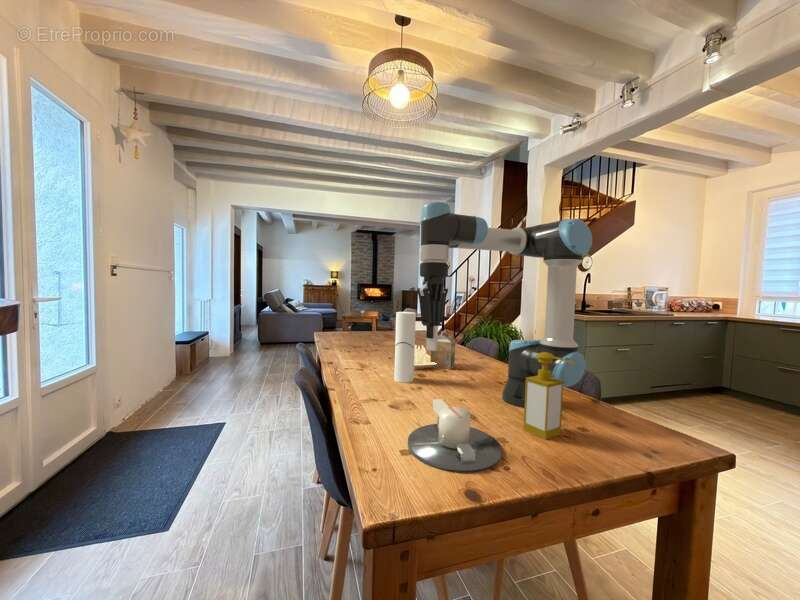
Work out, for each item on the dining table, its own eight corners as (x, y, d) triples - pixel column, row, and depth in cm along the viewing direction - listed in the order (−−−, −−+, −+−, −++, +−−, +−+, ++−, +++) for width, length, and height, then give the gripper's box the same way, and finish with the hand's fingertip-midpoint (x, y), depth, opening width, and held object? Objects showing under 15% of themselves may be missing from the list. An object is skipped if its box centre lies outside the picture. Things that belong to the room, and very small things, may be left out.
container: (411, 383, 140) (414, 313, 139) (392, 381, 142) (394, 312, 141) (414, 378, 149) (417, 312, 147) (396, 376, 150) (398, 311, 149)
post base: (478, 425, 99) (478, 413, 99) (520, 468, 76) (521, 453, 76) (400, 428, 95) (400, 415, 95) (419, 475, 72) (419, 459, 72)
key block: (483, 456, 78) (485, 424, 78) (452, 459, 76) (454, 426, 76) (448, 420, 99) (449, 394, 99) (423, 421, 97) (424, 395, 97)
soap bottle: (564, 448, 86) (568, 360, 85) (523, 429, 97) (527, 351, 96) (579, 442, 90) (583, 357, 89) (538, 425, 101) (542, 349, 100)
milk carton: (450, 370, 165) (451, 332, 165) (430, 367, 169) (431, 331, 168) (454, 365, 175) (455, 330, 174) (435, 363, 179) (436, 328, 178)
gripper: (433, 264, 95) (431, 344, 96) (408, 260, 84) (406, 351, 85) (457, 263, 91) (454, 348, 92) (434, 260, 80) (431, 355, 81)
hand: (431, 349), depth 88 cm, fingers closed
